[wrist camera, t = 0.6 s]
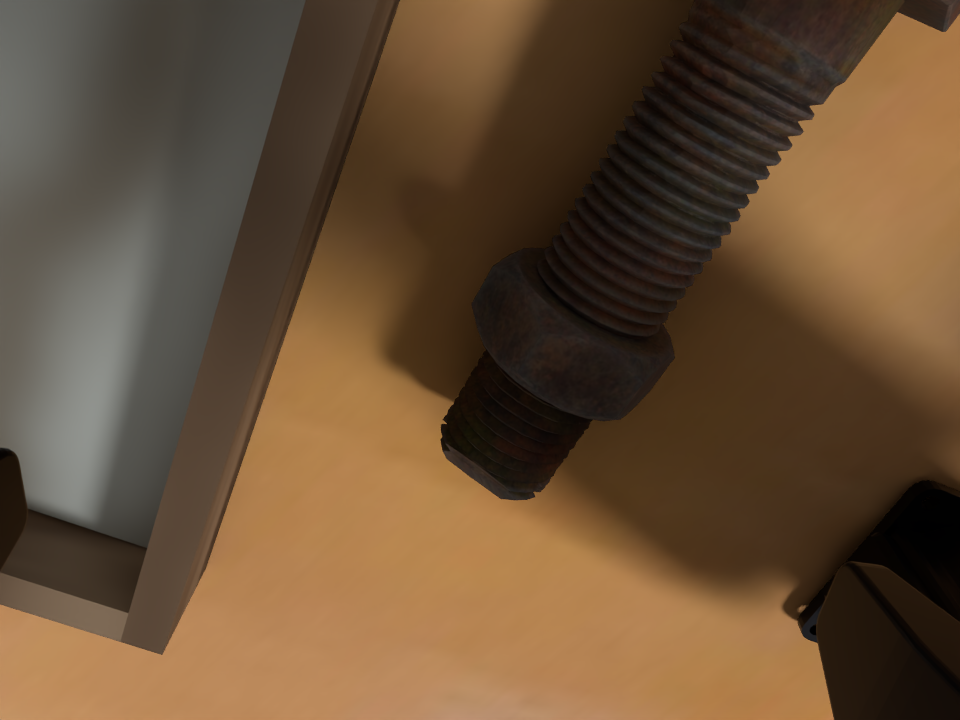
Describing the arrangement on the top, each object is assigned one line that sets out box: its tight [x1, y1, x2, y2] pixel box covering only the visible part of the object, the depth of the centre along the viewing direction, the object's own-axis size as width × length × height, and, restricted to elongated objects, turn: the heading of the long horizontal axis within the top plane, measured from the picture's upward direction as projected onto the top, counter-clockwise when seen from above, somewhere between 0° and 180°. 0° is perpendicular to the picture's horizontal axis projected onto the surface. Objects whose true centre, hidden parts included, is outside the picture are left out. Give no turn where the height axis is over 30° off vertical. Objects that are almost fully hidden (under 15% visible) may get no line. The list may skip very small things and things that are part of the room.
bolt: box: [441, 0, 960, 500], centre depth 17 cm, size 6×5×15 cm
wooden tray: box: [0, 0, 400, 655], centre depth 18 cm, size 11×20×4 cm, turn 157°
